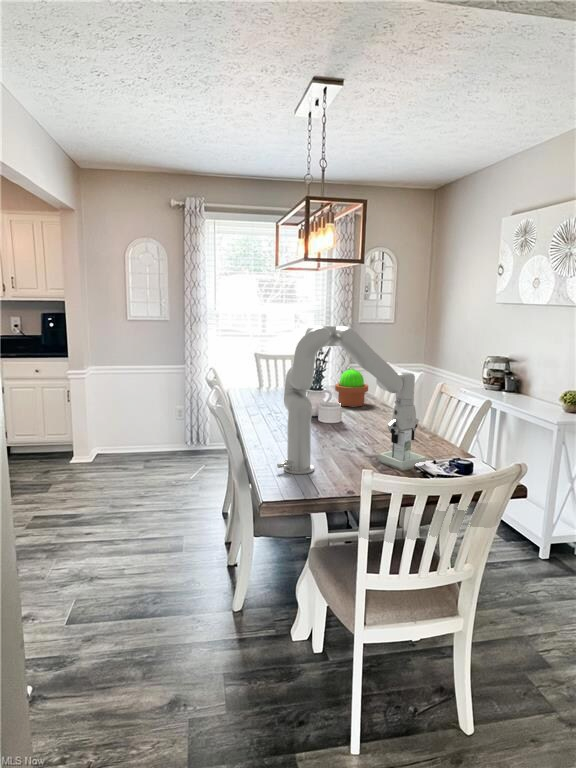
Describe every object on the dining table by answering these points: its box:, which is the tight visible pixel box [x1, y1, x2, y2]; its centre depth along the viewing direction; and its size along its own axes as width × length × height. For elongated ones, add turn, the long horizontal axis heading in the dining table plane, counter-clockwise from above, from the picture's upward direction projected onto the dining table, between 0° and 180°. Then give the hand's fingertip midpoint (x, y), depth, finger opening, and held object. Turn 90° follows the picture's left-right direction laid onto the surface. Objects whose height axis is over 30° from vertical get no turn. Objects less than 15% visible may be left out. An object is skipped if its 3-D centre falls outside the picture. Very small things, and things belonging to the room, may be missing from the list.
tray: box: [378, 450, 427, 472], centre depth 205 cm, size 14×14×4 cm
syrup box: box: [391, 429, 412, 462], centre depth 204 cm, size 6×6×14 cm
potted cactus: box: [334, 368, 369, 407], centre depth 321 cm, size 22×22×25 cm
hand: (402, 441), depth 204 cm, fingers open, 9 cm apart
